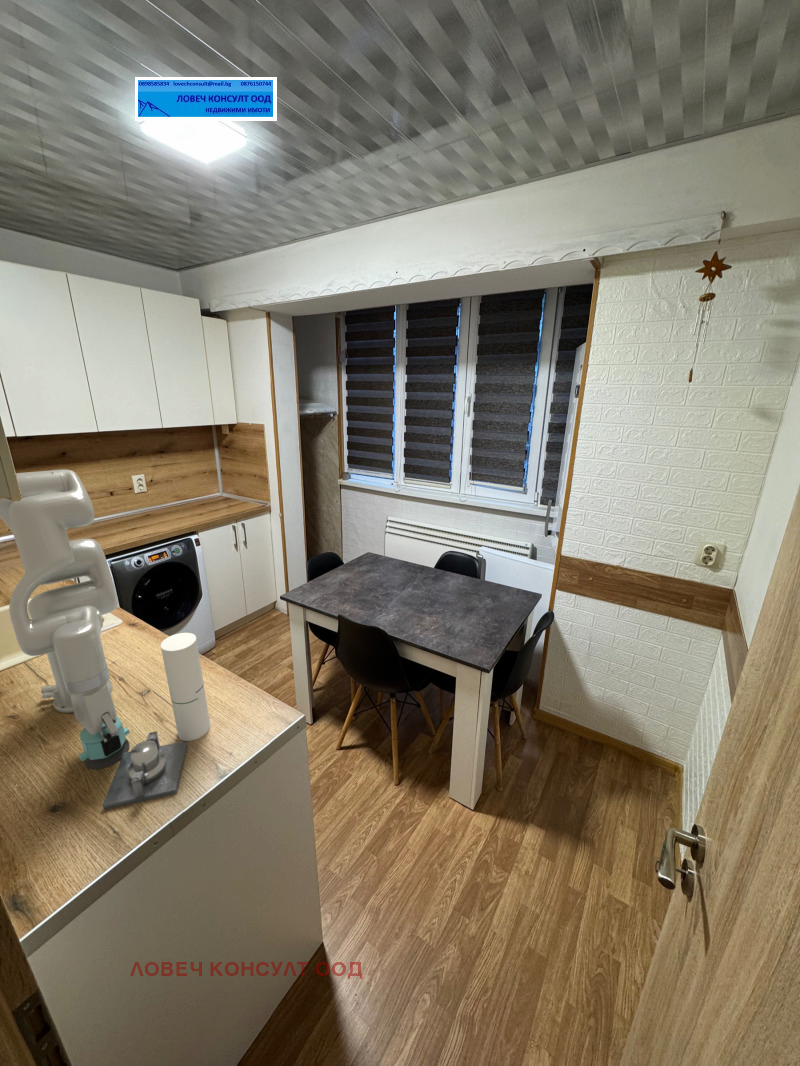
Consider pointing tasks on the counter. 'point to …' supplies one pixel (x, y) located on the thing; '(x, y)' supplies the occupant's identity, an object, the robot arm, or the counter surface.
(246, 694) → the counter surface
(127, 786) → the grey square base plate
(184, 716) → the cylindrical container
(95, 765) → the coaster
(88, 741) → the cap
